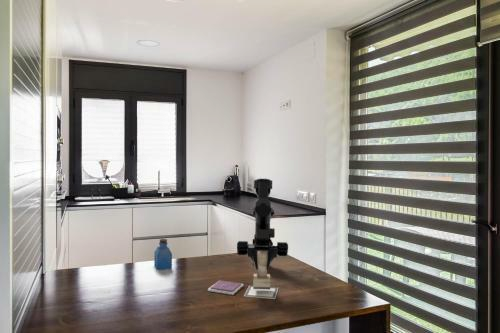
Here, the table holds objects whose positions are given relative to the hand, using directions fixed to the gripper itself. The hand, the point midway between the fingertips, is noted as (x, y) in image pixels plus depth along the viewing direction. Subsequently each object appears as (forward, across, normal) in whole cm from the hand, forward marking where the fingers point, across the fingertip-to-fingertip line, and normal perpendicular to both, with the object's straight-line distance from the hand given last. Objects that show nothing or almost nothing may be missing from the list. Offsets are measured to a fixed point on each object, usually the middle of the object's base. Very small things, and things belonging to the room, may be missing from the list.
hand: (262, 269), depth 138 cm
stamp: (+4, 0, +6) cm, 7 cm away
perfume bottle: (-14, -43, +26) cm, 52 cm away
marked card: (+5, 0, +7) cm, 9 cm away
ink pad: (+3, -13, +9) cm, 16 cm away
